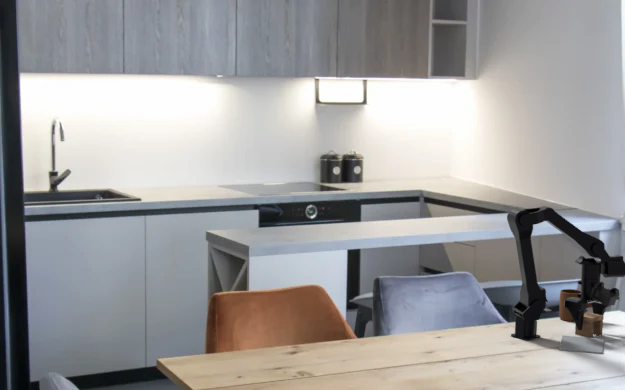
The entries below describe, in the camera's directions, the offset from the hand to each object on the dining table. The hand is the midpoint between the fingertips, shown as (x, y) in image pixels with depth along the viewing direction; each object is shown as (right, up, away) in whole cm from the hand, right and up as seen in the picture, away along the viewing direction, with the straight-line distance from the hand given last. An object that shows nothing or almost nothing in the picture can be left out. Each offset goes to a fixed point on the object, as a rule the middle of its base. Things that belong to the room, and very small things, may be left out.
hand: (588, 327), depth 286 cm
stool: (0, -2, 0) cm, 2 cm away
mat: (-6, -3, -12) cm, 14 cm away
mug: (+2, 0, +20) cm, 20 cm away
